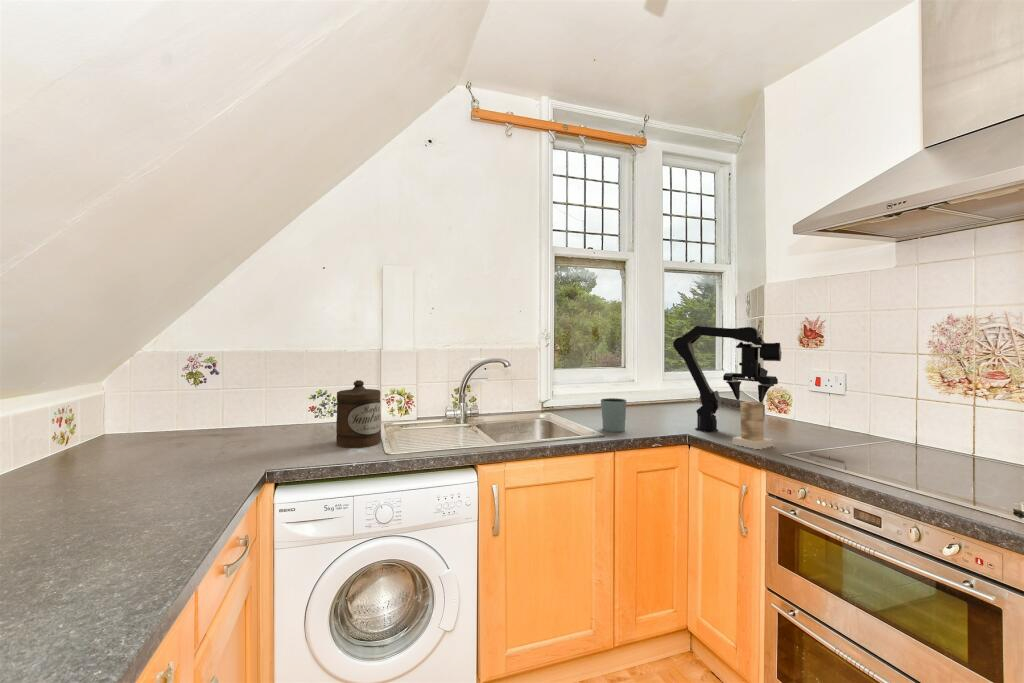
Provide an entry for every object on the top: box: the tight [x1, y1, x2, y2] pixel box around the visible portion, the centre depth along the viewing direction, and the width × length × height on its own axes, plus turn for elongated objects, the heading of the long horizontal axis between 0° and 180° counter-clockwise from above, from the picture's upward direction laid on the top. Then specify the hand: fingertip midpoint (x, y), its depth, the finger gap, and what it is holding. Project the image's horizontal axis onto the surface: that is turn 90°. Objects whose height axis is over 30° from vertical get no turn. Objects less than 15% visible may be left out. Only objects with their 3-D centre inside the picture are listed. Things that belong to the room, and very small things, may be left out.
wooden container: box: [335, 379, 382, 449], centre depth 167 cm, size 15×15×22 cm
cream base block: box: [732, 435, 774, 450], centre depth 165 cm, size 9×9×3 cm
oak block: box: [739, 400, 765, 441], centre depth 165 cm, size 5×5×12 cm
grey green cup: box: [600, 397, 627, 433], centre depth 191 cm, size 10×10×12 cm
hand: (749, 401), depth 180 cm, fingers open, 9 cm apart
